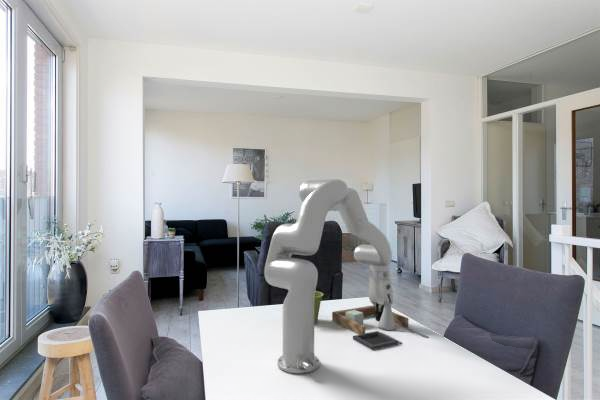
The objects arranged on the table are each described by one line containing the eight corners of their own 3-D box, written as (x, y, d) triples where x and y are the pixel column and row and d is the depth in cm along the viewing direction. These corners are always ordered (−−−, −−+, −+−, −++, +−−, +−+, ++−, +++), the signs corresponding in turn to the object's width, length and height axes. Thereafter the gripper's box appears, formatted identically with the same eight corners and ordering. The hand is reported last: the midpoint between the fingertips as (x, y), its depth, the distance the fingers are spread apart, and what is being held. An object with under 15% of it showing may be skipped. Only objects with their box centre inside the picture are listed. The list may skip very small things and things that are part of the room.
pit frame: (398, 344, 128) (398, 340, 128) (372, 350, 123) (372, 346, 123) (377, 334, 138) (377, 330, 138) (352, 339, 133) (352, 335, 133)
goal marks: (428, 337, 135) (428, 336, 135) (399, 344, 129) (399, 342, 129) (406, 328, 144) (406, 327, 144) (379, 333, 138) (379, 332, 138)
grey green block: (363, 325, 148) (363, 312, 148) (354, 328, 145) (354, 315, 145) (354, 322, 152) (354, 309, 152) (345, 324, 149) (345, 312, 149)
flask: (390, 332, 140) (391, 305, 140) (373, 327, 145) (374, 301, 144) (400, 327, 145) (400, 301, 145) (383, 322, 150) (384, 297, 150)
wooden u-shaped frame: (408, 327, 145) (408, 318, 145) (362, 336, 135) (362, 327, 135) (375, 313, 164) (375, 305, 164) (332, 320, 154) (332, 311, 154)
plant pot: (324, 326, 147) (324, 297, 147) (293, 326, 147) (293, 297, 147) (322, 316, 158) (322, 290, 158) (294, 316, 159) (294, 290, 159)
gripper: (400, 277, 144) (400, 324, 144) (375, 270, 157) (375, 313, 157) (385, 279, 140) (385, 328, 141) (360, 272, 154) (361, 316, 154)
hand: (380, 320), depth 149 cm, fingers closed
